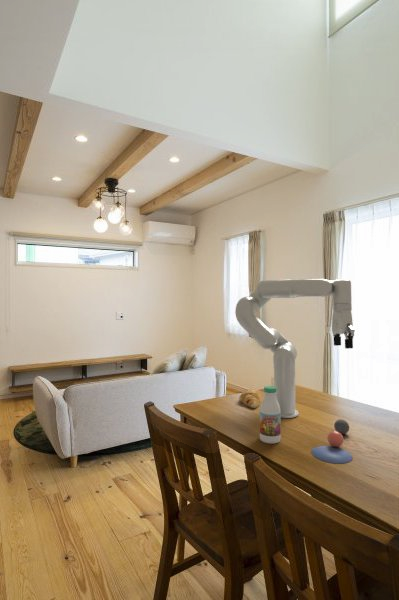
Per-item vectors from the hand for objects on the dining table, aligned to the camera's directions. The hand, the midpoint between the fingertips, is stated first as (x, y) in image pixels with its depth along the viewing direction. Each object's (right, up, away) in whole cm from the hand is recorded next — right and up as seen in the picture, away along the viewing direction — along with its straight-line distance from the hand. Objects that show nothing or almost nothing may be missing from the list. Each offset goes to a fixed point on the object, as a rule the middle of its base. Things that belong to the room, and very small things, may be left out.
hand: (343, 346), depth 151 cm
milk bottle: (-36, -33, -21) cm, 53 cm away
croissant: (-37, -33, +26) cm, 56 cm away
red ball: (-14, -30, -26) cm, 42 cm away
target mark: (-18, -33, -33) cm, 49 cm away
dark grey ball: (-7, -30, -14) cm, 34 cm away
